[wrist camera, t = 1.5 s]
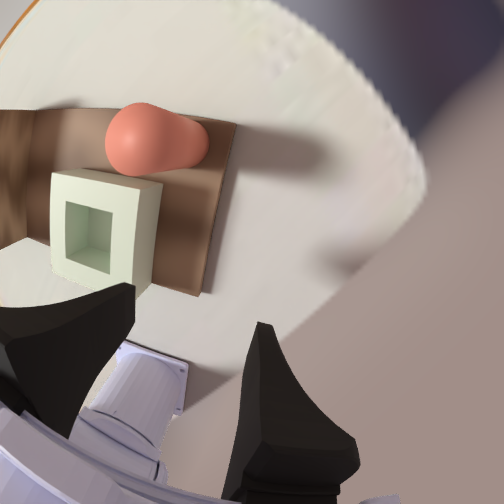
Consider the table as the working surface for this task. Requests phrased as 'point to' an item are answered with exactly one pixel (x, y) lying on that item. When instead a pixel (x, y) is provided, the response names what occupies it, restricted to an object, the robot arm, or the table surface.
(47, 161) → the board
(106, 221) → the block
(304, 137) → the table surface
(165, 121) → the dowel
